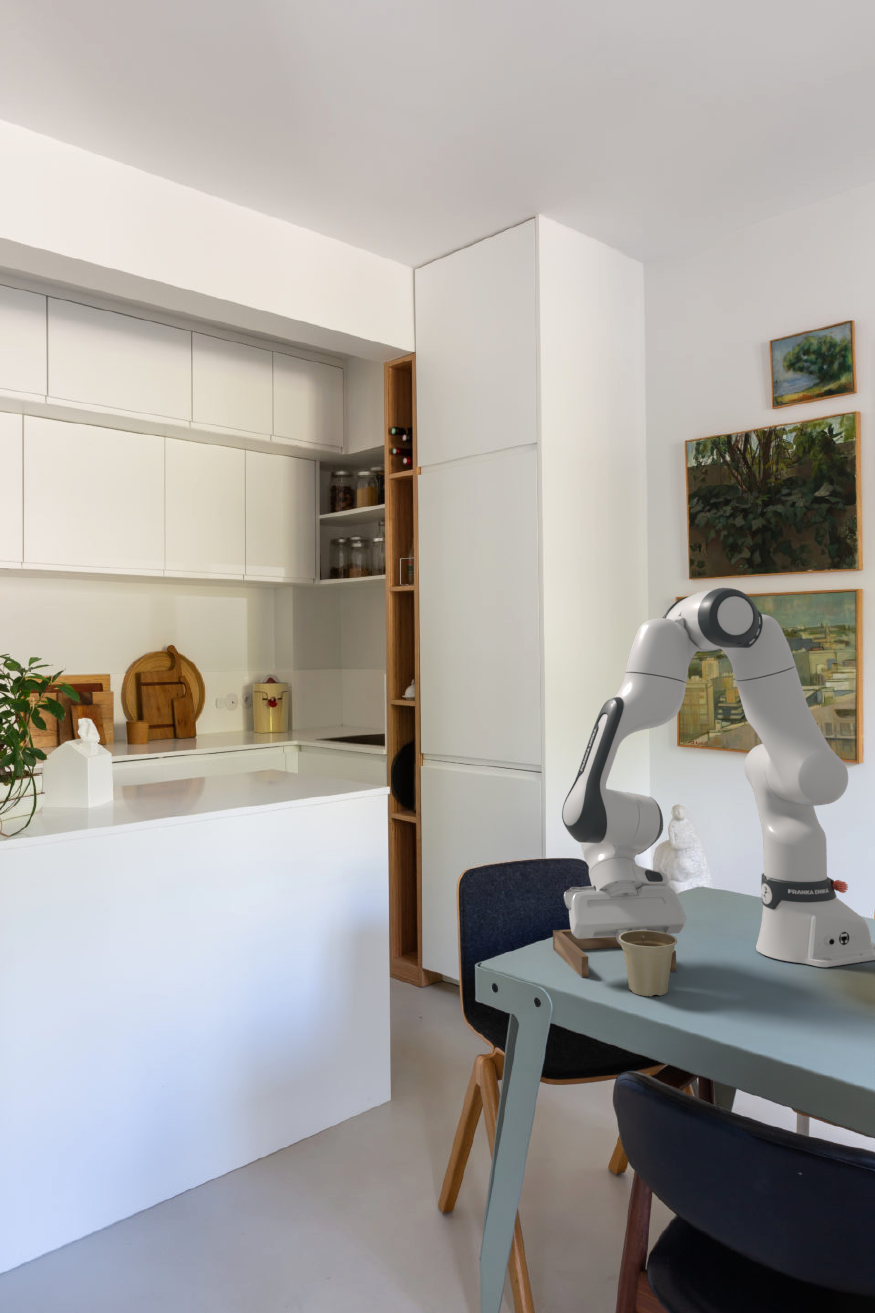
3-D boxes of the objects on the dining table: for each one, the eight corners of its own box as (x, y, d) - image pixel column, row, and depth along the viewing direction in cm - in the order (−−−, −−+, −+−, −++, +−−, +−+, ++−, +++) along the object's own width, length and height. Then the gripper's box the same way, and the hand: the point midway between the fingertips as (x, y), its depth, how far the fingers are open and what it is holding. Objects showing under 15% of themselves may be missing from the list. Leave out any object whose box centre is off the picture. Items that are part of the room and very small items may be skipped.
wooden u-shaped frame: (639, 943, 179) (638, 925, 179) (676, 971, 162) (675, 951, 162) (553, 949, 176) (553, 930, 176) (581, 977, 159) (581, 957, 159)
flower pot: (679, 1002, 147) (679, 947, 147) (619, 999, 149) (618, 945, 149) (676, 983, 156) (675, 931, 156) (619, 980, 158) (618, 929, 158)
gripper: (565, 878, 162) (583, 950, 153) (675, 873, 166) (700, 944, 156) (557, 897, 167) (575, 969, 157) (665, 892, 170) (688, 962, 160)
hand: (638, 956), depth 156 cm, fingers closed, pressing on flower pot
